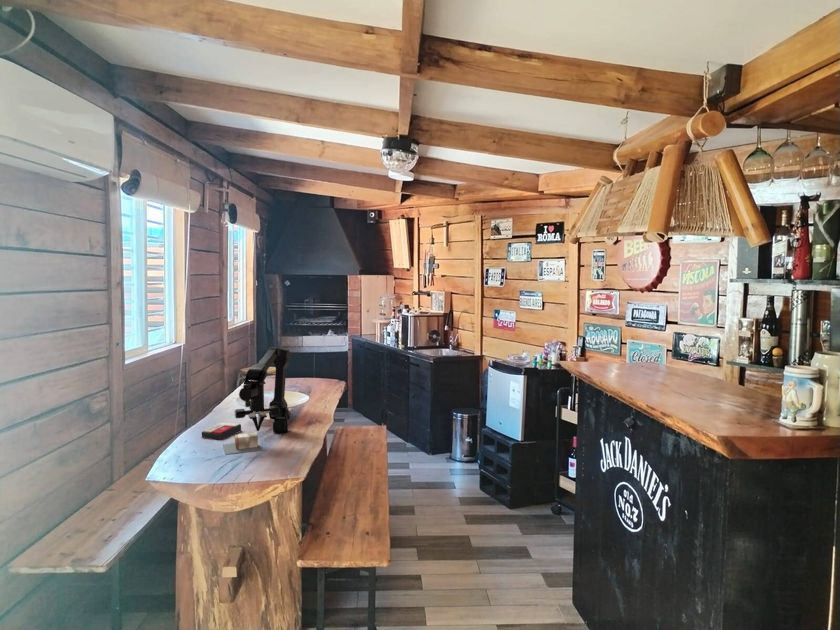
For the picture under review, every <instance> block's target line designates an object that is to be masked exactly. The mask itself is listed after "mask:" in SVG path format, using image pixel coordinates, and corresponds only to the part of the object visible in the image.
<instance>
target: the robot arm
mask: <svg viewBox="0 0 840 630" xmlns="http://www.w3.org/2000/svg"><path fill="white" fill-rule="evenodd" d="M291 358H292V352H290V350H289V349H283V348H280V347H272V346H271V347H268V348H267V352H266V353H265V354H264V355H263V357H262V358H261V359H260V360H259V361H258V363H256V364H253V365H252V366H250V367H249V369H247V371H246V374H245V378H244V381H243V385H242V386H243V388H241V389H240V390H239V393H238V397H239V399H240V400H242V401H243V402H244V406H245V408H249V409H248V410H245V409H244V408H237V409H235V410H234V418H235V419H244V418H245V417H246V416H248V418H249V419H250V420H252V421H253V425H254V427H255V430H256V432H259V431H260V430H261V428H262V427H261V426H262V425H263V422H264V420H265V418H267V416H268V415H269V419H270V420H272V421H271V425H272V426H271V431H272V432H273V433H274V434H281V433H282V434H283V432H284V433H289V430H288V429H289V428H288V427H289V426H288V425H289V424H288V420H291V416H292V413H291V411H290V410H289V408H288V403H287V401H286V399H285V391H286V378H287V375H286V374H287V368H288V367H289V365H290V364H291ZM272 364H273V365H274V367H275V377H274V390H273V392H274V393H273V399H272V400H271V401H270V402H269V403H268V405H269V406H268V408H265V384H266V381H265V380H266V378H267V376H268V370H269V369H270V367H271V366H272ZM267 414H268V415H267ZM257 415H258V418H257Z"/></svg>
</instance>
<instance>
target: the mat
mask: <svg viewBox="0 0 840 630" xmlns="http://www.w3.org/2000/svg"><path fill="white" fill-rule="evenodd" d="M222 446H223V450H224V454H225V455H234V454H235V455H236V454H242V452H243V453H249V452H250V451H251V452H259V449H258V447H252V448H244V449H236V447H235V442H234V443H233V442H232V443H225V444H222ZM251 452H250V453H251Z"/></svg>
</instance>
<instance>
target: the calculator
mask: <svg viewBox="0 0 840 630" xmlns="http://www.w3.org/2000/svg"><path fill="white" fill-rule="evenodd" d="M239 431H240V432H242V424H241V423H237V422H235V423H234V422H224V421H221V422H219V423H217V424H214V425H211V426H210V427H208V428H206V429H204V430H203V431H202V432H201V438H202V437H205V438H204V439H210V438H212V440H220V441H221V440H224V439H226V438H228V436H229V437H230V436H233V435H234V434H235V435H236V434H238V433H240V432H239ZM237 432H238V433H237Z"/></svg>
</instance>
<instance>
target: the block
mask: <svg viewBox="0 0 840 630" xmlns="http://www.w3.org/2000/svg"><path fill="white" fill-rule="evenodd" d="M258 440H259V437H258V433H257V432H249V433H240V434H238V433H237V434H235V435H234V443H235V447H236V449H244V448H252V447H257V448H258V447H259V441H258Z"/></svg>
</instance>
